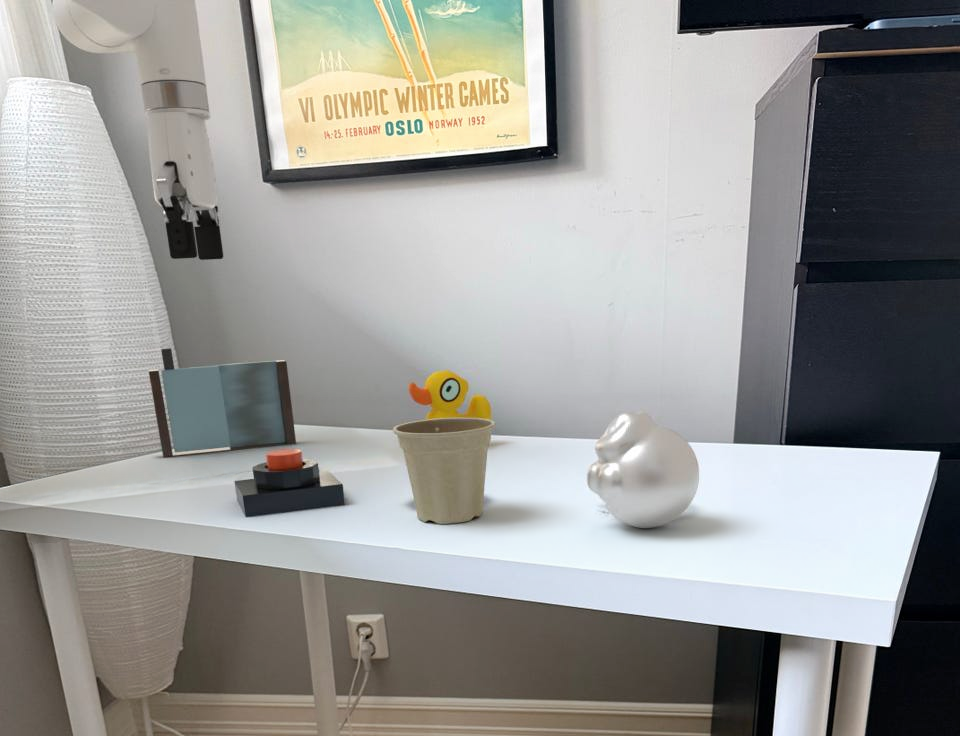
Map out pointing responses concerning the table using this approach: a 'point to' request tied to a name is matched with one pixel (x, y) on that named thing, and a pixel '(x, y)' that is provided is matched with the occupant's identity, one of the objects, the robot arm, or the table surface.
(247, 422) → the window frame
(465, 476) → the flower pot
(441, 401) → the duckling
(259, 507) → the button box
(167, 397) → the window pane
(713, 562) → the table surface
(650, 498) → the pearly white lumpy ball
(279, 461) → the button
